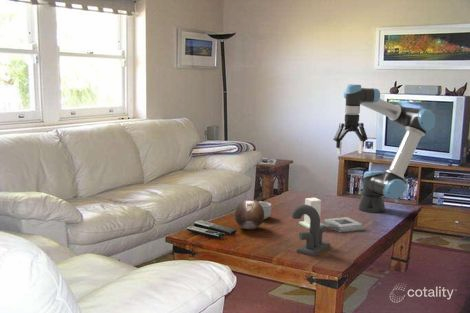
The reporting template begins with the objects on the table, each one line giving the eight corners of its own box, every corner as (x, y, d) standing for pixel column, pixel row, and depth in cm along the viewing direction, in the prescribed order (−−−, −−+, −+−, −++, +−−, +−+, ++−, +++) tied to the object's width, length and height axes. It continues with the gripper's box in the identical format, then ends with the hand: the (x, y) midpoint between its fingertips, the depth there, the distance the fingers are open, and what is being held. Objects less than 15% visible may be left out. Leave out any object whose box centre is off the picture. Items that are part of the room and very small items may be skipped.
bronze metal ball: (238, 233, 256) (238, 204, 254) (231, 225, 271) (231, 196, 268) (267, 232, 260) (268, 203, 257) (259, 223, 274) (260, 195, 272)
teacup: (269, 221, 279) (269, 207, 277) (249, 219, 281) (249, 205, 279) (272, 214, 292) (273, 200, 291) (253, 213, 294) (253, 199, 293)
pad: (315, 221, 280) (315, 220, 280) (325, 227, 271) (325, 225, 271) (298, 223, 276) (298, 221, 276) (308, 228, 267) (308, 227, 267)
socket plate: (346, 222, 281) (347, 216, 281) (362, 229, 268) (362, 224, 268) (324, 224, 276) (324, 219, 275) (339, 232, 263) (339, 226, 262)
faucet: (300, 239, 251) (302, 198, 248) (330, 246, 242) (333, 204, 239) (281, 249, 236) (283, 206, 233) (313, 256, 228) (315, 212, 224)
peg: (313, 221, 277) (315, 197, 275) (319, 224, 272) (321, 200, 270) (303, 222, 275) (305, 198, 273) (309, 225, 270) (311, 201, 268)
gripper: (367, 113, 284) (364, 151, 288) (328, 113, 275) (325, 153, 278) (376, 114, 277) (373, 153, 281) (336, 114, 268) (333, 155, 271)
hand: (349, 153), depth 279 cm, fingers open, 13 cm apart
